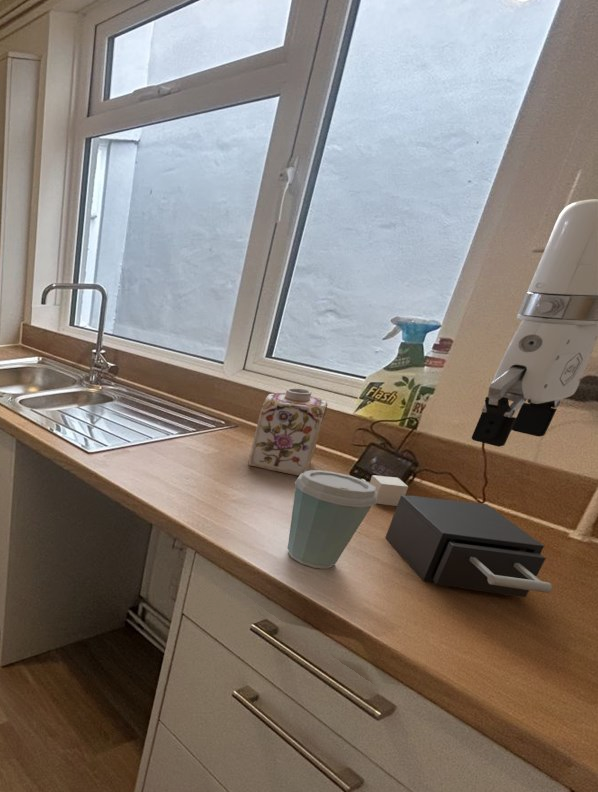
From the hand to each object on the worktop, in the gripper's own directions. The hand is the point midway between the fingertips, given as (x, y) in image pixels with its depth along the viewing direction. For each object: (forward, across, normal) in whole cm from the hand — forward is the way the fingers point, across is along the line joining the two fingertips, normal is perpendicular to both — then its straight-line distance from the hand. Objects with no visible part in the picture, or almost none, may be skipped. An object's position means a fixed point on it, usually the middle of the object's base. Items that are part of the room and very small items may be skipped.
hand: (507, 438), depth 72 cm
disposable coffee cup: (+24, -11, +12) cm, 30 cm away
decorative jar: (+24, +22, +42) cm, 53 cm away
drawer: (+23, +4, -1) cm, 24 cm away
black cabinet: (+24, +7, +3) cm, 25 cm away
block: (+24, +23, +21) cm, 40 cm away
